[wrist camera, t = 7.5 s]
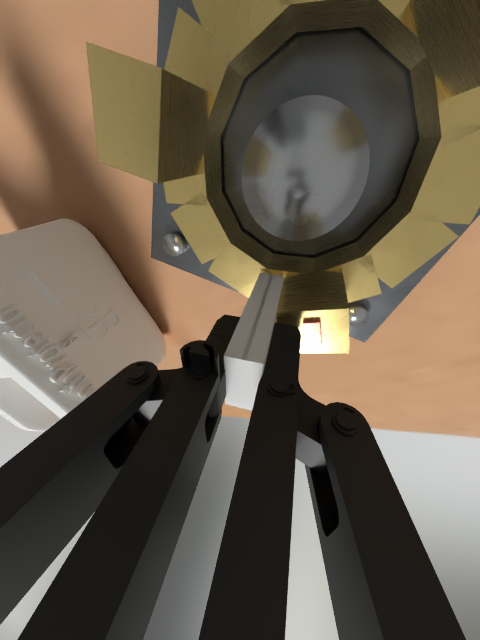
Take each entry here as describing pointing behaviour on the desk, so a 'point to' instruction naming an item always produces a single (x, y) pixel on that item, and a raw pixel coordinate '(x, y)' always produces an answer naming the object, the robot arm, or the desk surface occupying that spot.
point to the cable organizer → (64, 322)
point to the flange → (310, 154)
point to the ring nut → (213, 112)
